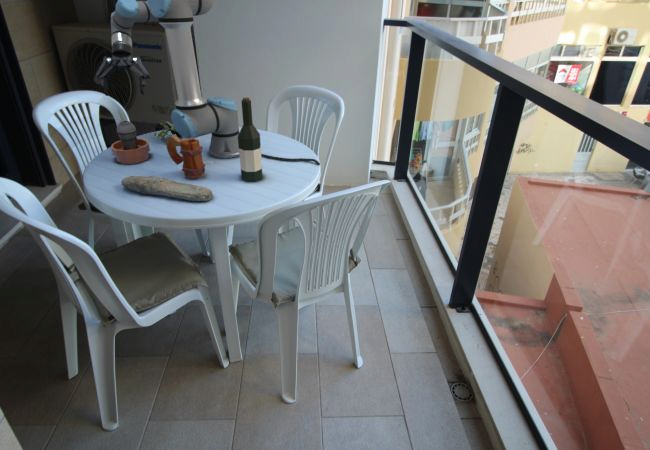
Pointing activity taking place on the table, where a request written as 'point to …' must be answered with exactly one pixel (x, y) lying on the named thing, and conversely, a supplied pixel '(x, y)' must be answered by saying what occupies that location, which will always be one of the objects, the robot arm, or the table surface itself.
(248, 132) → the wine bottle
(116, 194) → the table surface
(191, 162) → the mug
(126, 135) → the beverage cup
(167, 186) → the long grey stone
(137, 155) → the bowl
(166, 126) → the passion flower
